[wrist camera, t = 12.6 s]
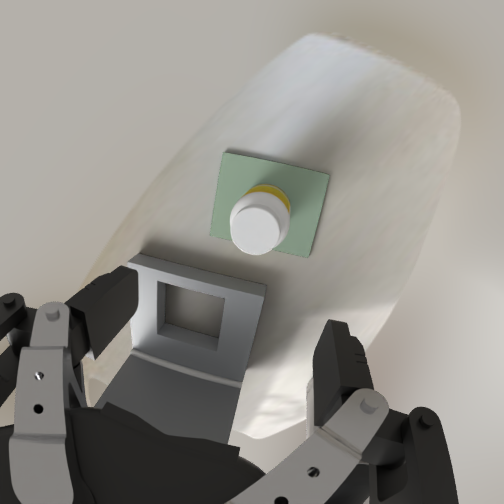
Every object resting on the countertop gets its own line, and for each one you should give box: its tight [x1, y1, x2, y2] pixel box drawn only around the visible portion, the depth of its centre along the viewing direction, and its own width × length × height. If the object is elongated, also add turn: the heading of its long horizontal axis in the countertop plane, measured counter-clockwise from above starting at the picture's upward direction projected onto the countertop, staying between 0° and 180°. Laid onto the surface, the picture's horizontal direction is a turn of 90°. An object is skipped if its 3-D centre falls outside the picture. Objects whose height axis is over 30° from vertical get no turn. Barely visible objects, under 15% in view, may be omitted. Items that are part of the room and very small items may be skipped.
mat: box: [210, 152, 330, 258], centre depth 31 cm, size 12×10×1 cm
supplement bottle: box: [230, 183, 291, 255], centre depth 26 cm, size 5×5×10 cm
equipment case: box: [94, 253, 267, 444], centre depth 30 cm, size 18×17×19 cm
